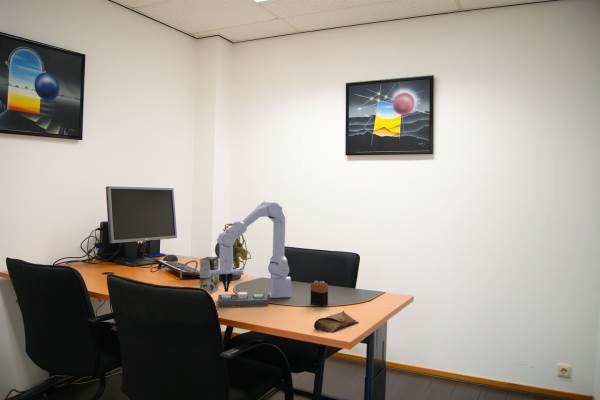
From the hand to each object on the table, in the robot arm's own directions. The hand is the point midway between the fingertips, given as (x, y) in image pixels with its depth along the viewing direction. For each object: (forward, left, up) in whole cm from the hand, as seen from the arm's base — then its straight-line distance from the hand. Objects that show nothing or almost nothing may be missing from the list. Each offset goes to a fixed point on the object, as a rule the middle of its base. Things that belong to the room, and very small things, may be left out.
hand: (226, 291), depth 212 cm
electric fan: (+6, -52, -6) cm, 53 cm away
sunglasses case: (-41, +38, -6) cm, 56 cm away
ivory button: (-7, 0, -4) cm, 8 cm away
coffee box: (+8, -25, -6) cm, 27 cm away
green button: (-14, 0, -5) cm, 15 cm away
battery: (-40, +6, -6) cm, 41 cm away
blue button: (0, 0, -5) cm, 5 cm away
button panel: (-7, 0, -5) cm, 9 cm away
